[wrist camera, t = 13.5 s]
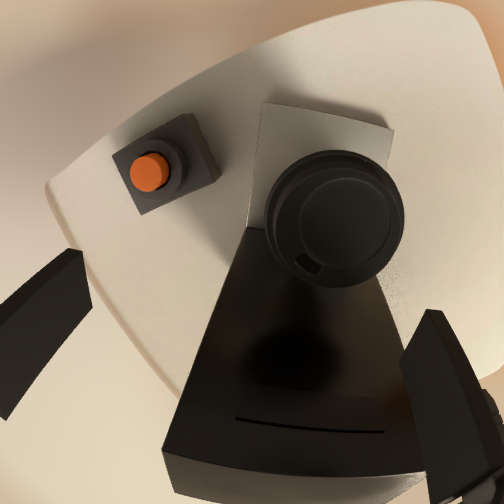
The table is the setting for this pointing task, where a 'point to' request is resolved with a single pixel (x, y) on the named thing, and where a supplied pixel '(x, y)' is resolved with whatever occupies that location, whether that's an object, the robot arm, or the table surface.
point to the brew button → (149, 172)
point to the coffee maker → (295, 363)
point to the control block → (170, 162)
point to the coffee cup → (334, 218)
